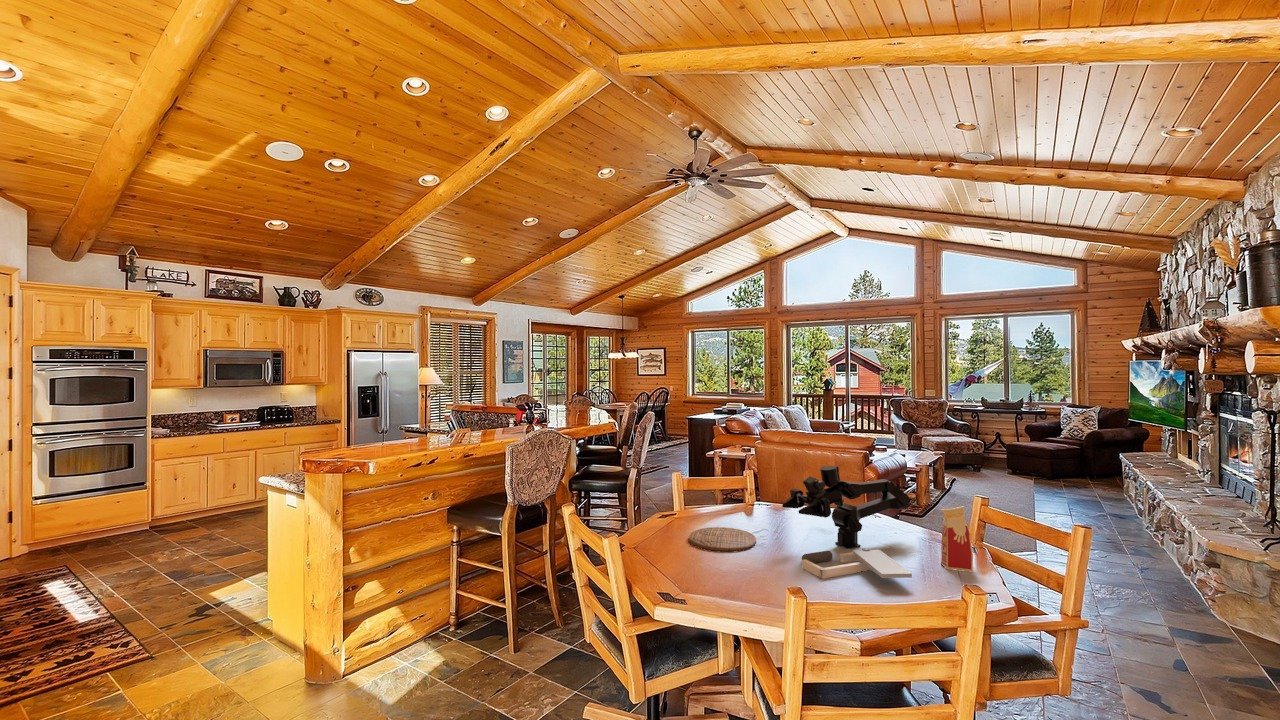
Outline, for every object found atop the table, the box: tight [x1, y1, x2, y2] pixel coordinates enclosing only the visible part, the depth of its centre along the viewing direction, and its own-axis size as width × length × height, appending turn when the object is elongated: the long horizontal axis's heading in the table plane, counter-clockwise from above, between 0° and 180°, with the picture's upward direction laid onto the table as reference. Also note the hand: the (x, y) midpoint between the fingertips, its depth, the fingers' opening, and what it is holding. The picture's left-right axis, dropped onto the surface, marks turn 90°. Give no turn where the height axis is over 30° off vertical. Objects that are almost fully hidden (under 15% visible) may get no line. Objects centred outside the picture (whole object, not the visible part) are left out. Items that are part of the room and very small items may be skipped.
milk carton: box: [940, 505, 974, 573], centre depth 189 cm, size 9×9×20 cm
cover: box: [852, 547, 913, 579], centre depth 181 cm, size 23×9×1 cm, turn 2°
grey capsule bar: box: [801, 550, 834, 564], centre depth 194 cm, size 12×3×3 cm, turn 112°
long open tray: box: [801, 551, 873, 580], centre depth 187 cm, size 23×10×3 cm, turn 112°
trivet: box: [688, 526, 757, 553], centre depth 216 cm, size 25×25×2 cm
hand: (790, 509), depth 201 cm, fingers open, 9 cm apart
